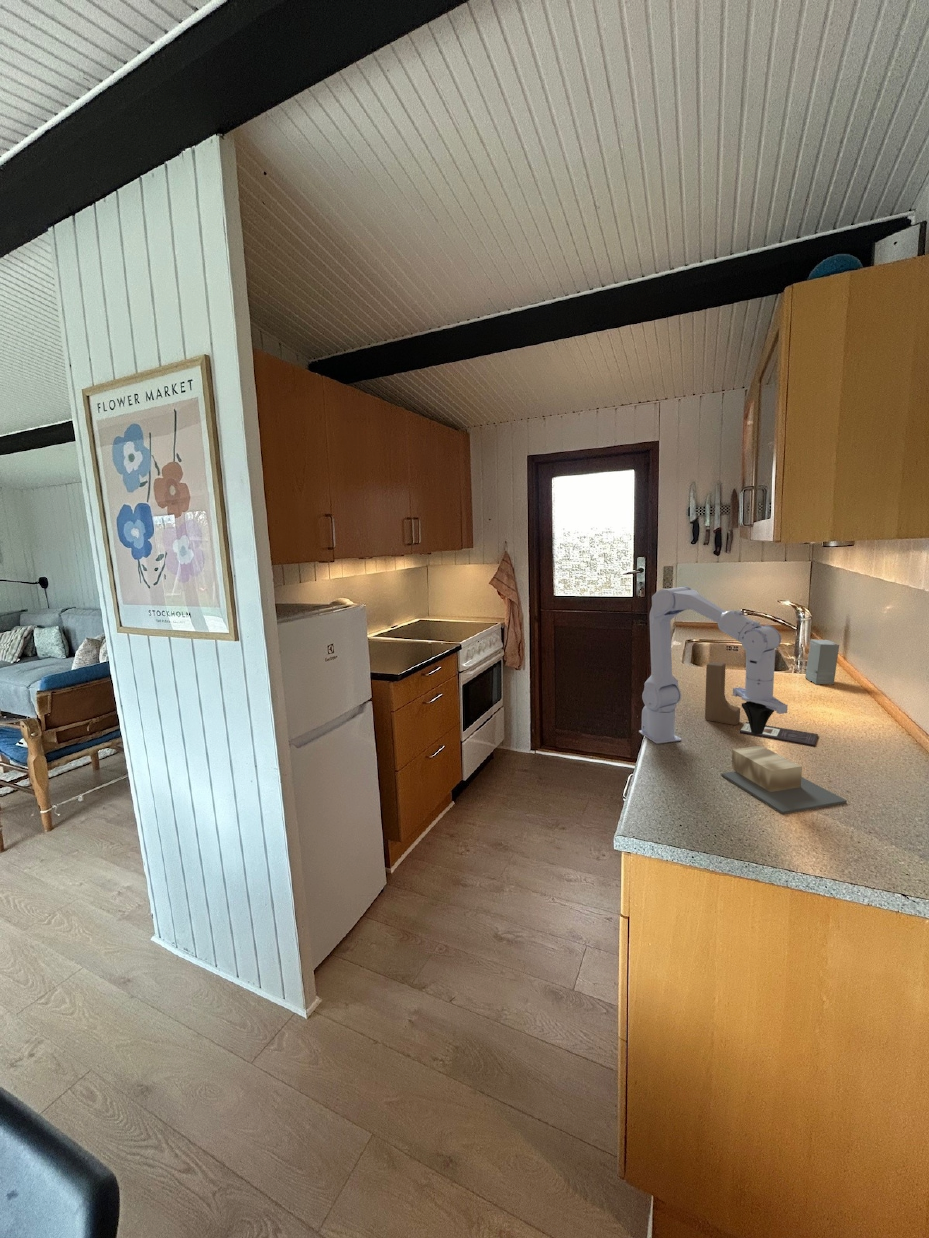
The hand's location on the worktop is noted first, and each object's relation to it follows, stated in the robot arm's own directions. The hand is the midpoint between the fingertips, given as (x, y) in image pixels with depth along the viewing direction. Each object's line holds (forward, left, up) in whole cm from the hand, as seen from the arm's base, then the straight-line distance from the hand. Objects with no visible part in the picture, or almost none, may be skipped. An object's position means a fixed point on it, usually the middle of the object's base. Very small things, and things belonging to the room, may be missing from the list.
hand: (757, 733), depth 119 cm
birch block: (-3, 0, -7) cm, 8 cm away
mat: (+7, 0, -10) cm, 13 cm away
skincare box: (-56, +78, -11) cm, 96 cm away
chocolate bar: (-19, +24, -11) cm, 32 cm away
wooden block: (-33, +17, -11) cm, 38 cm away
